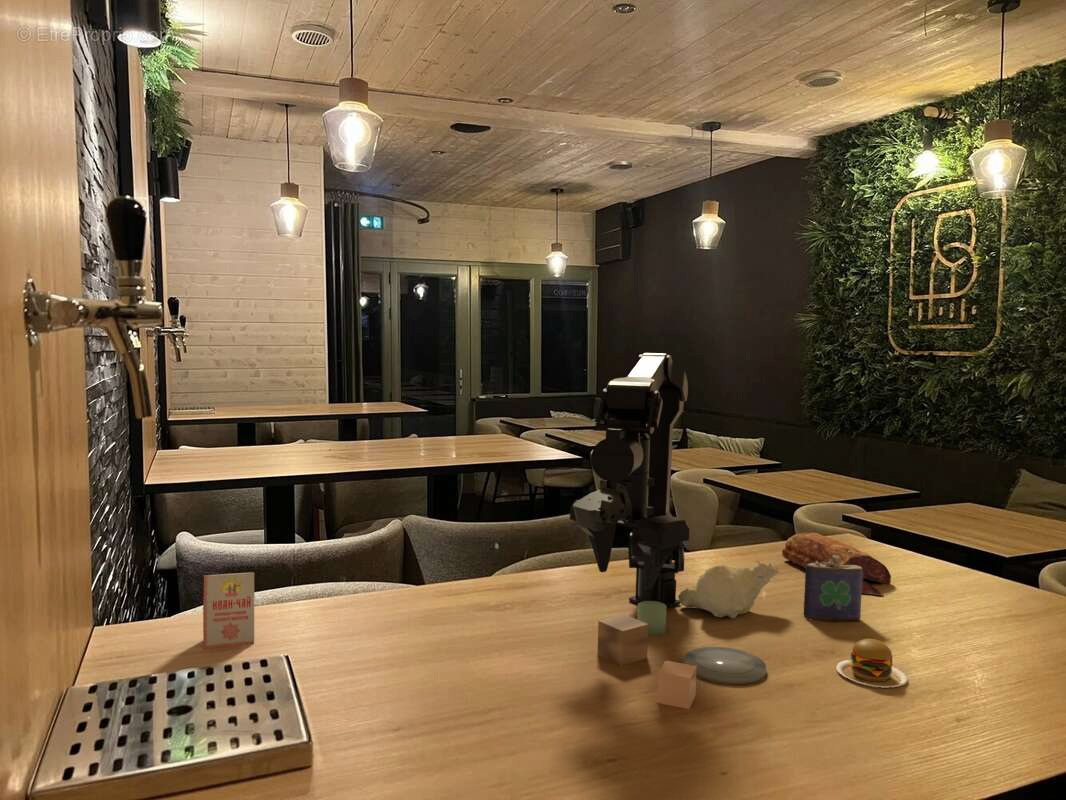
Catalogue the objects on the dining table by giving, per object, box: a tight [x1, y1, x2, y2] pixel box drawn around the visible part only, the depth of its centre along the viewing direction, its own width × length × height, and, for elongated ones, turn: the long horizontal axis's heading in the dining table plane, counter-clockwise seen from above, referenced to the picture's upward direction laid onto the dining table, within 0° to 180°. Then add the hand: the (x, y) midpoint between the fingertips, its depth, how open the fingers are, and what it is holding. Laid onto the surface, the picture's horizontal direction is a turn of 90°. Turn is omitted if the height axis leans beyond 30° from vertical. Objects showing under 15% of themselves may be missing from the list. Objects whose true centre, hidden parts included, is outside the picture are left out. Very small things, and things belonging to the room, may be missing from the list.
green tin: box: [636, 601, 667, 636], centre depth 123 cm, size 4×4×4 cm
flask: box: [803, 555, 863, 622], centre depth 130 cm, size 9×3×11 cm, turn 87°
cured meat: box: [781, 532, 892, 597], centre depth 155 cm, size 18×25×7 cm
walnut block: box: [596, 614, 649, 667], centre depth 113 cm, size 5×5×5 cm
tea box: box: [202, 571, 255, 650], centre depth 115 cm, size 4×7×10 cm, turn 109°
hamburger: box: [835, 638, 908, 689], centre depth 108 cm, size 12×12×6 cm
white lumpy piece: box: [677, 560, 779, 619], centre depth 132 cm, size 15×7×15 cm
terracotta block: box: [656, 660, 697, 710], centre depth 99 cm, size 4×4×4 cm
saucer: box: [683, 646, 767, 685], centre depth 110 cm, size 11×11×1 cm
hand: (624, 579), depth 112 cm, fingers open, 9 cm apart
